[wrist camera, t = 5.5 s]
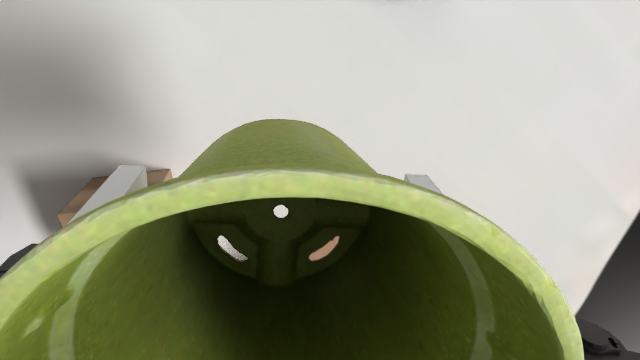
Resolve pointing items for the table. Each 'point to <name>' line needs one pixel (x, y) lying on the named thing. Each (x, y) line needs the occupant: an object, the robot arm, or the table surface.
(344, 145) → the plant pot
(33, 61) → the table surface
